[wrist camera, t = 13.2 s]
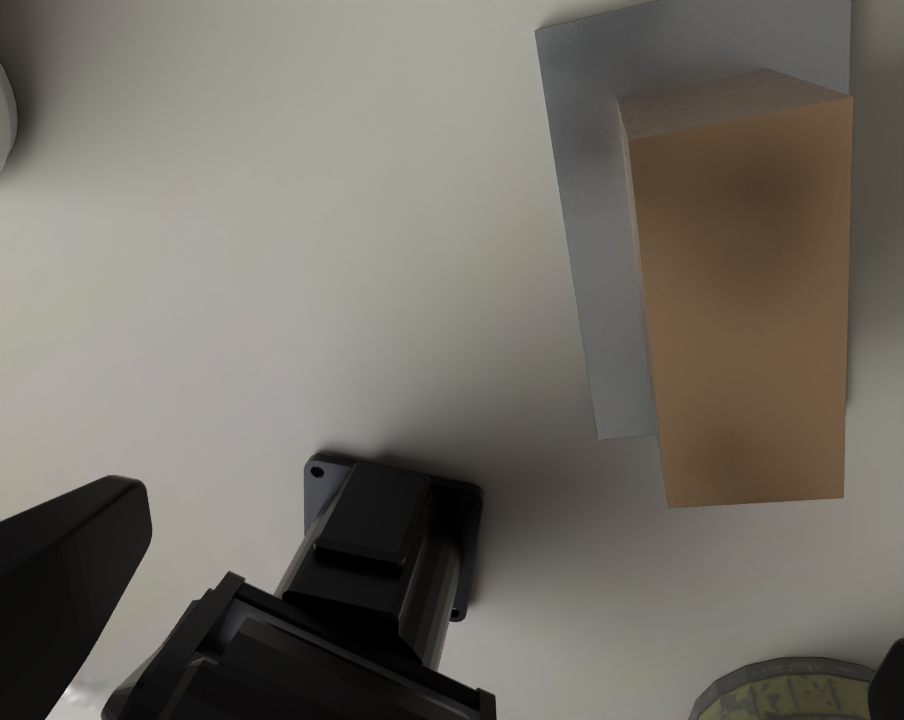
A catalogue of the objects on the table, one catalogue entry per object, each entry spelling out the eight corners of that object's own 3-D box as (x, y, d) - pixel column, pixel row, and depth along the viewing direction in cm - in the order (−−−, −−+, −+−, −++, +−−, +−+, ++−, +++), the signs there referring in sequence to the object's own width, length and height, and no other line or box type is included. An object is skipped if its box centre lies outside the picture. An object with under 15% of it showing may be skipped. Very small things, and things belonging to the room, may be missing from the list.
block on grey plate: (833, 405, 20) (932, 567, 14) (597, 426, 22) (599, 578, 16) (840, -45, 15) (996, -80, 9) (536, 29, 17) (507, 40, 11)
